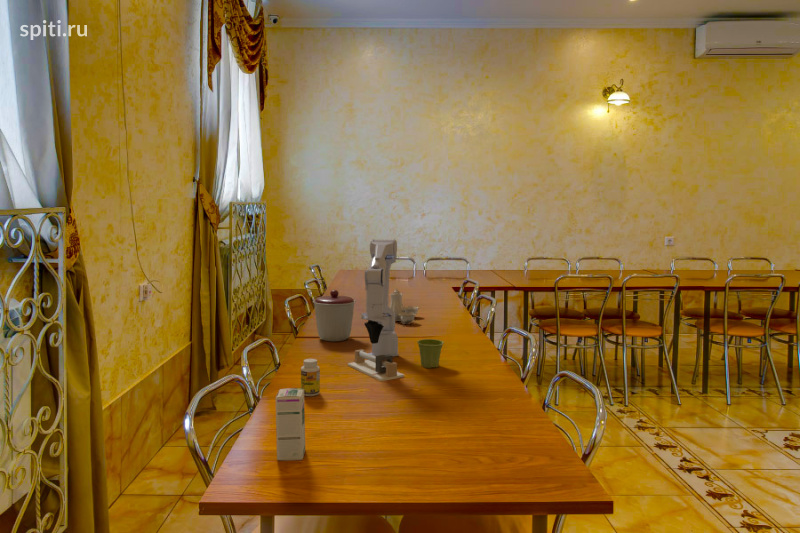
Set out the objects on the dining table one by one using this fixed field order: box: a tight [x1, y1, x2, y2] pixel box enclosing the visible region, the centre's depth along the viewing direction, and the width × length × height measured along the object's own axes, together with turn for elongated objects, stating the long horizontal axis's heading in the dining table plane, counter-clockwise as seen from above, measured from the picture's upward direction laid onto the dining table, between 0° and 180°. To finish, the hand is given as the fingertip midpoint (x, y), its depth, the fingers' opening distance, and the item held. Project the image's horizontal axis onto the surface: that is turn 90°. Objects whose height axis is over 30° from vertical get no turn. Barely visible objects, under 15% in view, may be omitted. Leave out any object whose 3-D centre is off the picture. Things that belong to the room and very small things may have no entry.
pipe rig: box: [347, 348, 405, 382], centre depth 192 cm, size 22×9×5 cm, turn 35°
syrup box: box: [275, 387, 306, 461], centre depth 125 cm, size 6×6×14 cm
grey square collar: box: [376, 354, 394, 373], centre depth 187 cm, size 2×5×5 cm, turn 125°
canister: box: [312, 289, 357, 342], centre depth 238 cm, size 18×18×21 cm
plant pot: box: [417, 338, 445, 369], centre depth 199 cm, size 9×9×9 cm
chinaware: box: [388, 288, 420, 325], centre depth 281 cm, size 28×17×17 cm, turn 178°
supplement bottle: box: [300, 358, 321, 397], centre depth 167 cm, size 6×6×10 cm
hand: (374, 343), depth 191 cm, fingers closed
